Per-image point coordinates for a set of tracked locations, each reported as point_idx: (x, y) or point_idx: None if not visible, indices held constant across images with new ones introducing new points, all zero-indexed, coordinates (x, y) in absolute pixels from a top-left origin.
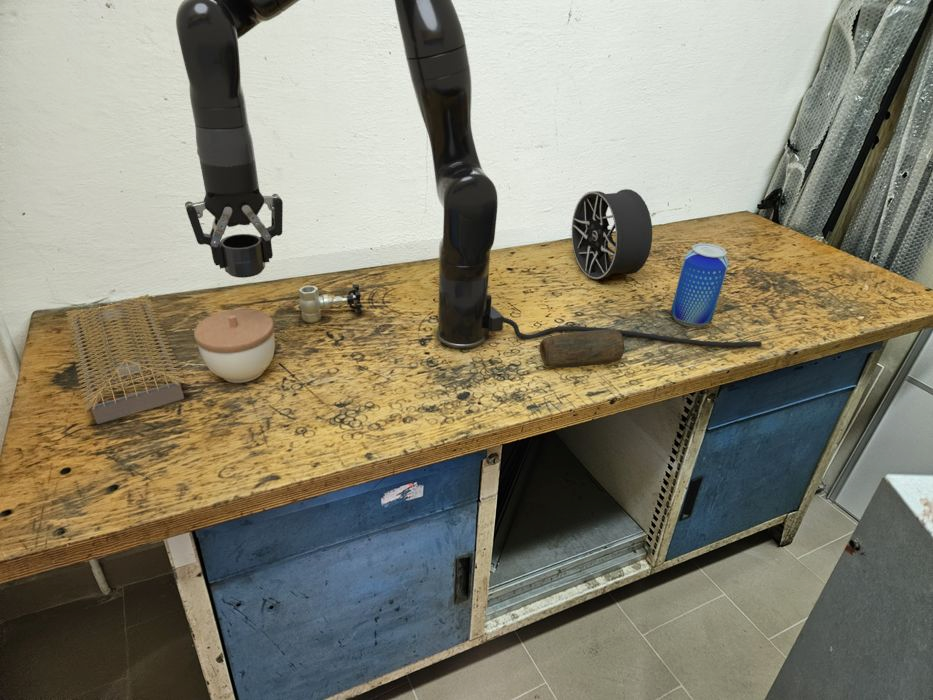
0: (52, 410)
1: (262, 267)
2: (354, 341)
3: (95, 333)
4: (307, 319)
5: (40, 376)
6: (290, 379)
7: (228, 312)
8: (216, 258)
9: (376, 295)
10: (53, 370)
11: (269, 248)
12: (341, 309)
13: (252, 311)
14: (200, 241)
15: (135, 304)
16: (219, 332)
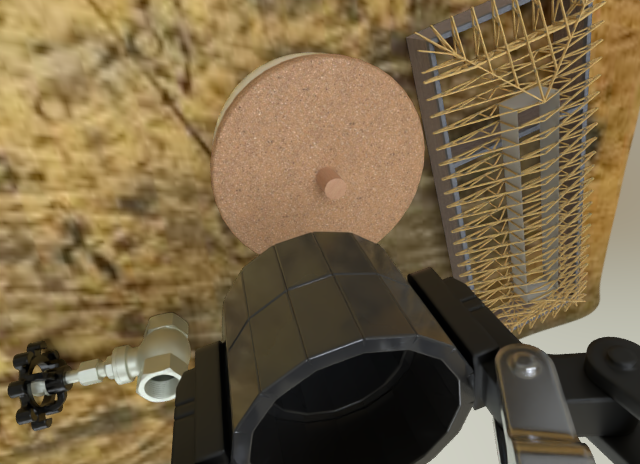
0: (612, 42)
1: (227, 302)
2: (26, 241)
3: (567, 226)
4: (172, 317)
5: (612, 153)
6: (170, 81)
7: None
8: (464, 303)
9: None
10: (595, 169)
11: (187, 421)
12: None
13: None
14: (627, 351)
15: None
16: (363, 141)
